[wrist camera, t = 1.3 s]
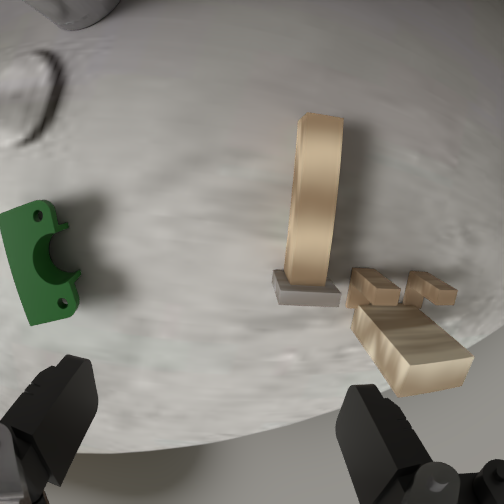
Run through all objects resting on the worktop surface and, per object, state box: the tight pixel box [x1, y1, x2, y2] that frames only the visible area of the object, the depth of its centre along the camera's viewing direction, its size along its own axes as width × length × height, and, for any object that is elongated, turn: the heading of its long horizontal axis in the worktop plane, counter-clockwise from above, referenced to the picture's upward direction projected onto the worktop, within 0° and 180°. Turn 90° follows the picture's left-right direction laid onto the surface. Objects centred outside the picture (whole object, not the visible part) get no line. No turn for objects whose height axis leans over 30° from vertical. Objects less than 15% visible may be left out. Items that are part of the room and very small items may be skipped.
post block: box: [346, 268, 474, 397], centre depth 25 cm, size 7×9×12 cm
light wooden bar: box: [272, 112, 344, 307], centre depth 25 cm, size 15×5×6 cm, turn 175°
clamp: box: [0, 200, 82, 326], centre depth 25 cm, size 12×6×9 cm, turn 4°
